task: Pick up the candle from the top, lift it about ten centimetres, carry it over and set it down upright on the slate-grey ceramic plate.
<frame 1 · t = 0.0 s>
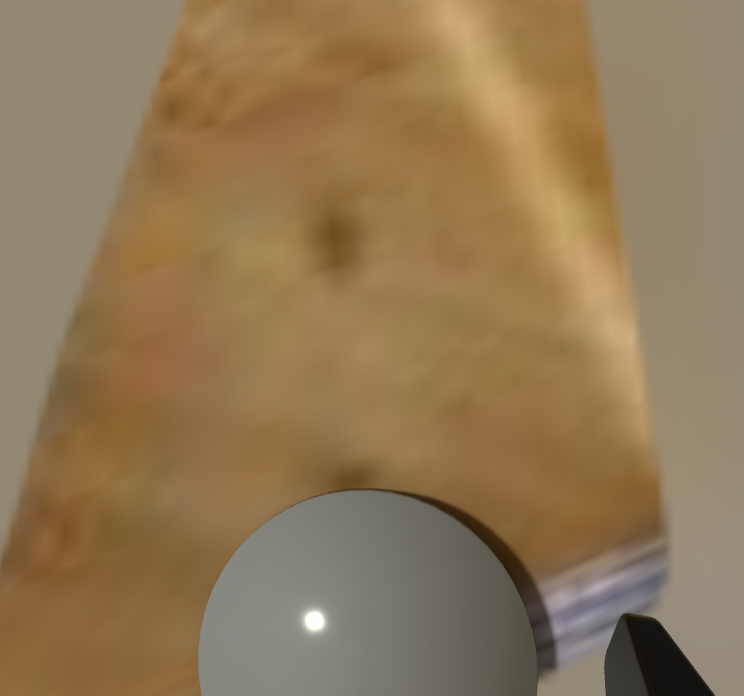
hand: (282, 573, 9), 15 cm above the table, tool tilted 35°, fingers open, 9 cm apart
slate plate: (365, 655, 23), on the table
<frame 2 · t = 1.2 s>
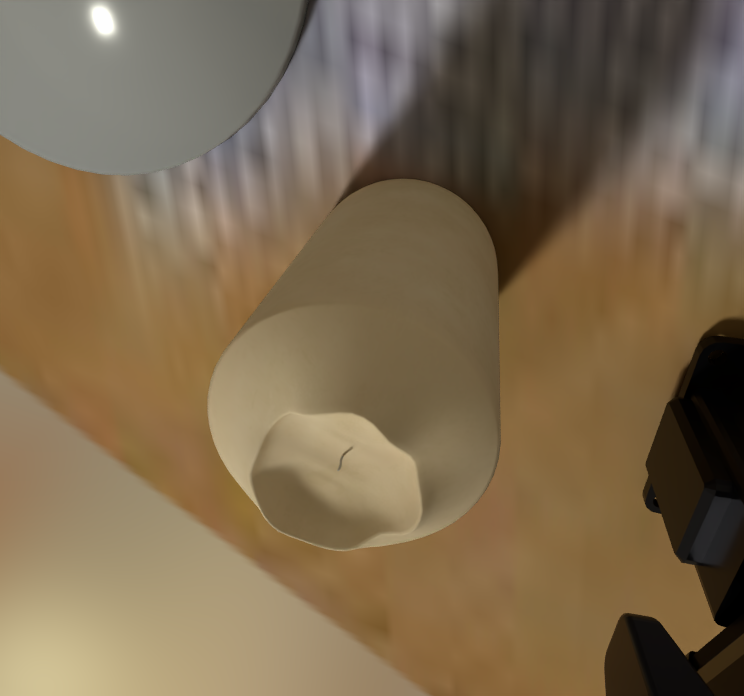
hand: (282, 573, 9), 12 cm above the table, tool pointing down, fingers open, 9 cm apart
candle: (405, 265, 19), on the table
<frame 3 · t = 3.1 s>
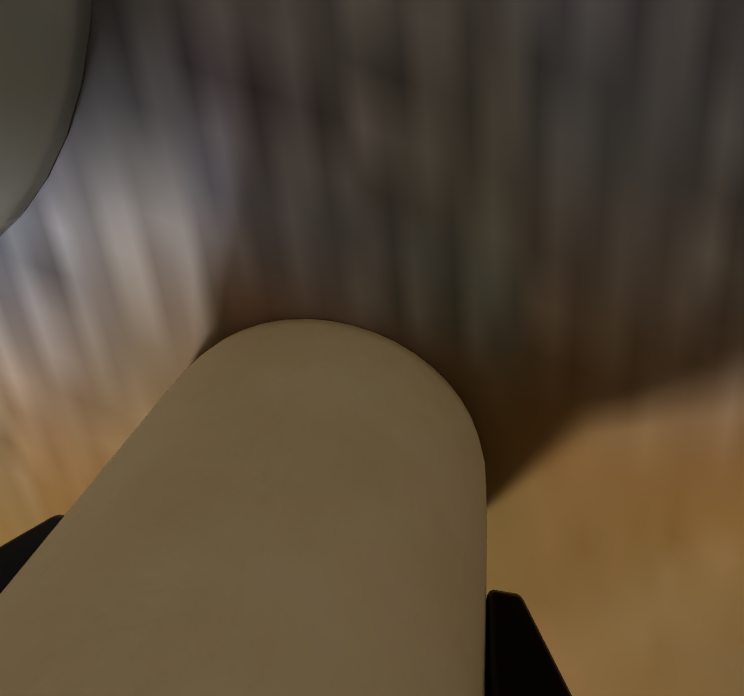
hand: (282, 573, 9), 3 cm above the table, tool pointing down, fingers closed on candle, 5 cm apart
candle: (326, 450, 11), on the table, touching gripper
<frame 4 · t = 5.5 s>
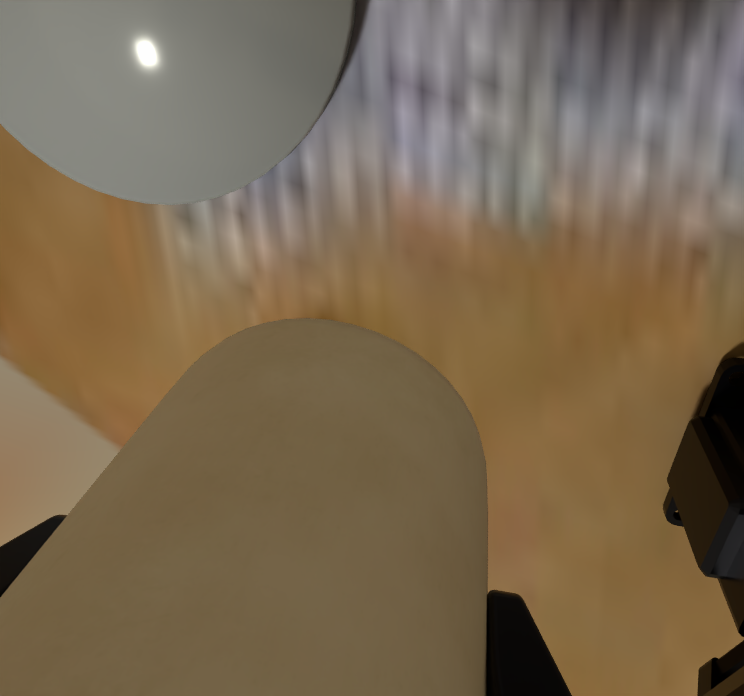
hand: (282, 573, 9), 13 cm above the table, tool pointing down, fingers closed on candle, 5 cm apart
candle: (328, 449, 11), point 10 cm above the table, touching gripper
when the fingers open (5 cm above the table, at t = 8.0 s): candle drops 1 cm, resting on slate plate.
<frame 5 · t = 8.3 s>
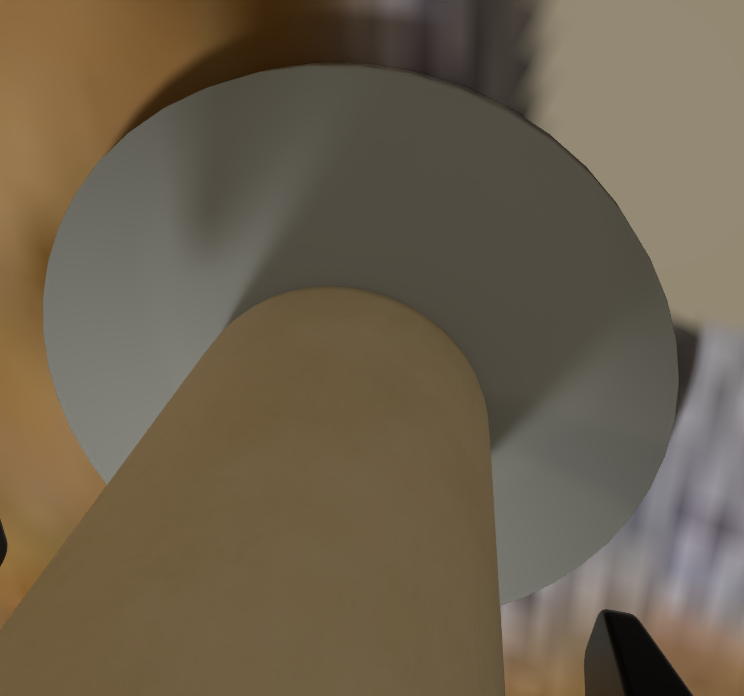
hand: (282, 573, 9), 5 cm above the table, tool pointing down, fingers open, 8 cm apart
slate plate: (348, 386, 13), on the table
candle: (343, 409, 12), point 1 cm above the table, touching slate plate
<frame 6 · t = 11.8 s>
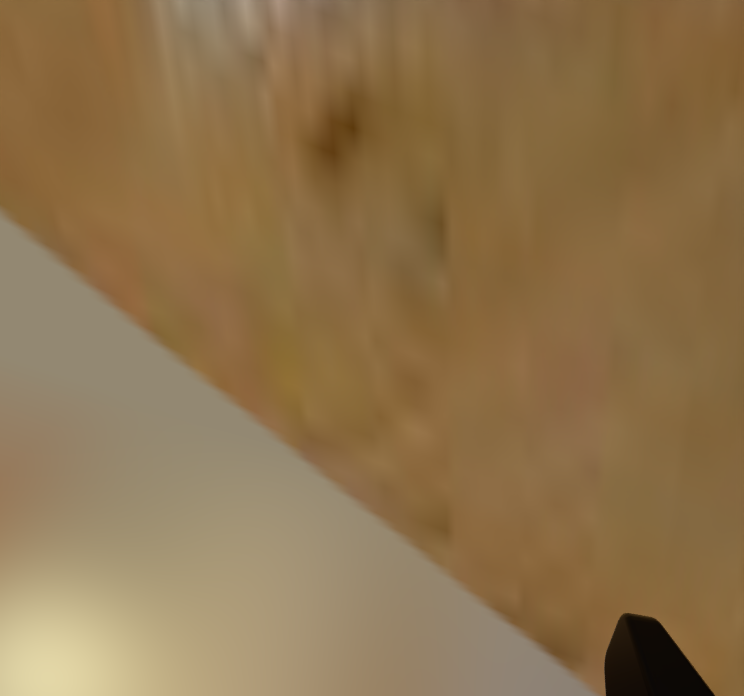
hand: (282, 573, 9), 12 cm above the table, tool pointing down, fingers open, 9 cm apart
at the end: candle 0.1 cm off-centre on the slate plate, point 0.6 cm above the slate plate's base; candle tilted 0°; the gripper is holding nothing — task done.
